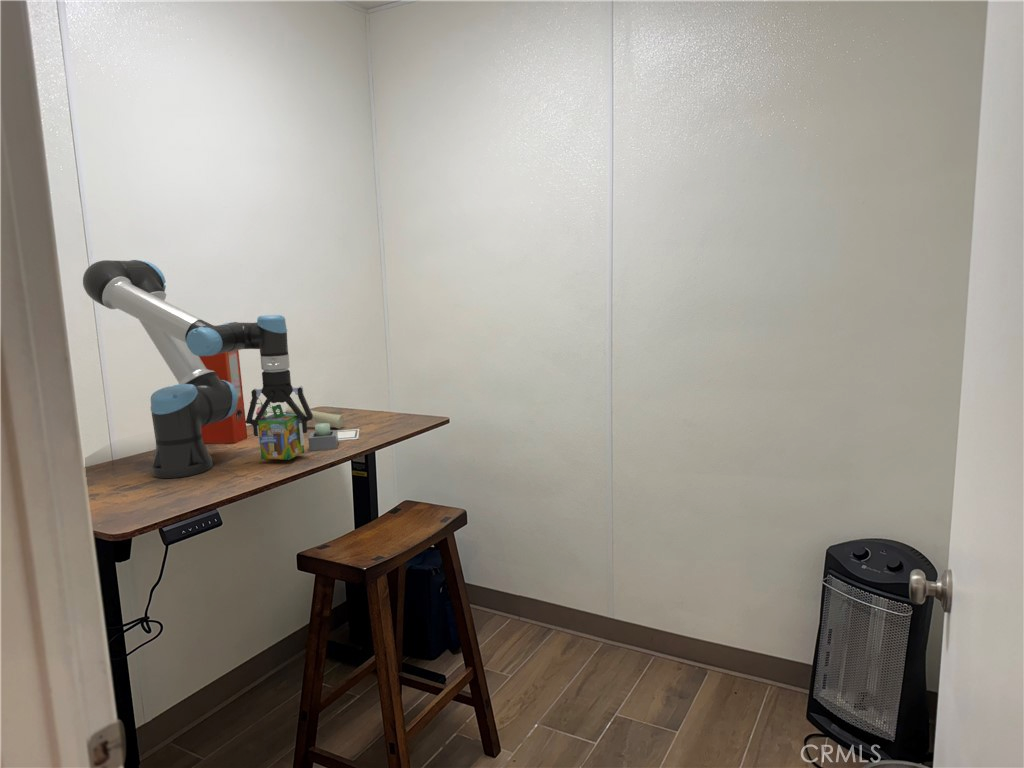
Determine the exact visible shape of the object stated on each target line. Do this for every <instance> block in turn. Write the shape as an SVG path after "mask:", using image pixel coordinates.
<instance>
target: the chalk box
mask: <svg viewBox="0 0 1024 768" xmlns="http://www.w3.org/2000/svg"><path fill="white" fill-rule="evenodd" d="M273 406H274V407H272V406H271V407H272V408H271V409H272V410H273V411H272V410H271V411H272V412H273V414H272V413H271V414H270V415H266V417H264V418H262V419H259V420H258V427H259V438H260V448H259V449H260V460H287V461H289V460H291V459H294V458H295V457H298V456H299V455H301V454H304V453H305V448H304V447H305V446H304V445H305V444H304V445H301V441H300V429H299V423H300V421H301V420H300V419H299V418H298V416H297V415H295V414H286V413H283V412H284V411H283V408H282V405H281V404H276V405H273ZM276 409H277V410H279V412H280V413H276V412H277V410H276Z"/></svg>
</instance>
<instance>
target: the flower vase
mask: <svg viewBox="0 0 1024 768" xmlns="http://www.w3.org/2000/svg"><path fill="white" fill-rule="evenodd" d="M258 400H259V401H260V403H259V402H257V403H256V405H260V406H258V408H256V410H255V411H256V413H255V414H256V416H257V415H258V413H259V411H260V409H261V408H262V406H263V404H264V403H263V402H262V400H261V399H260V398H259V397H258ZM250 404H251V401H250V402H249V405H250ZM295 404H296V405H297V406H298V408H299V409H300V410H301V412H302V413H303V414H304V415H305V417H306V416H307V415H306V413H305V411H304V409H303V407H302V405H299V404H297V403H295ZM274 406H275V405H271V403H270V404H269V405H268V407H269V408H268V407H267V409H268V410H269V411H267V409H266V410H265V412H264V414H263V416H262V417H261V419H262V418H264V417H267V416H268V413H270V414H272V413H273V410H272V407H274ZM310 410H311V412H312V415H313V418H312V420H310V421H311V422H315V423H317V424H320V423H329V424H330V427H331V428H335V429H337V430H340V429H342V427H343V423H344V419H345V418H344V415H343V414H334V413H328V412H321V411H316V410H312V409H310ZM276 413H277V414H280V410H279V409H276ZM283 413H284V414H295V412H294V411H293V410H292V409H291V407H290V406H289V405H288V406H287V408H286V410H285V411H283ZM273 414H274V413H273ZM295 415H296V414H295Z"/></svg>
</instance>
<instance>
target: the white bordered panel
mask: <svg viewBox="0 0 1024 768" xmlns="http://www.w3.org/2000/svg"><path fill="white" fill-rule="evenodd" d="M337 432H338V442H341V441H343V442H345V441H355V440H359V437H360V436H359V435H360V428H355V429H353V428H352V429H343V430H340V429H339V430H337Z"/></svg>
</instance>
